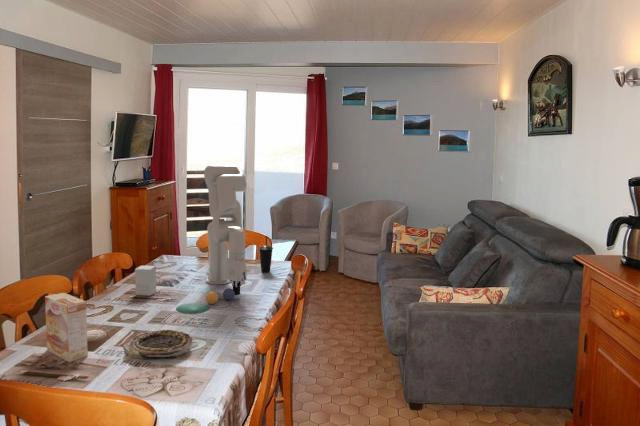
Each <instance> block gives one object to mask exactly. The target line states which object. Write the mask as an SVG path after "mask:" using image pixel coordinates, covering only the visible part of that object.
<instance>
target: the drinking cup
mask: <svg viewBox="0 0 640 426" xmlns="http://www.w3.org/2000/svg"><path fill="white" fill-rule="evenodd" d="M258 249H259V258H260V271H261V273H263V274H264V273H265V274H266V273H270V272H271V265H272V256H273V249H274V248H273V247H272V246H271V245H268V236H265V245H261V246H259V248H258Z"/></svg>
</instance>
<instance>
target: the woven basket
mask: <svg viewBox="0 0 640 426" xmlns="http://www.w3.org/2000/svg"><path fill="white" fill-rule="evenodd" d="M192 345H193V337H191V335H190V334H188V333H186V332H183V331H178V330H173V329H161V330H155V331H152V332H148V331H145V332H143V333H139V334H138V335H135V336H134V337H133V338H131V340H130V341H129V342H128V343H127V344H125V345H123V348H125V349H124V351H125V354H126V356H124V357H123V360H124V362H127V360H130V359H131V358H132V359H135V358H136V359H140V360H148V359H151V360H152V359H154V360H155V359H156V360H160V359H162V360H163V359H176V358H177V357H180V355H185V354H187V353H188V351H189V349H190V347H191V346H192ZM129 364H130V365H133V364H132V363H129Z"/></svg>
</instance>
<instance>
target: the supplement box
mask: <svg viewBox="0 0 640 426" xmlns="http://www.w3.org/2000/svg"><path fill="white" fill-rule="evenodd" d="M156 270H157V269H156V265H140V266H138V267H136V268H135V269H134V278H135V280H134V281H135V296H152V295H153V294H155V293H156V292H157V276H156V275H157V273H156Z"/></svg>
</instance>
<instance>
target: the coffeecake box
mask: <svg viewBox="0 0 640 426" xmlns="http://www.w3.org/2000/svg"><path fill="white" fill-rule="evenodd" d="M44 303H45V304H44V305H45V306H44V307H45V327H46V328H45V330H46V351H47V352H49V353H51V354H53V355H55V356H56V357H59V358H60V359H62V360H64V361H66V362H68V363H71V362H73V361H77V360H80V359H84V358H86V357H88V356H89V355H88V324H87V323H88V322H87V300H83V299H81V298H78V297H76V296H74V295H71V294H68V293H67V292H66V293H65V292H60V293H56V294H49V295H45V296H44Z"/></svg>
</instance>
